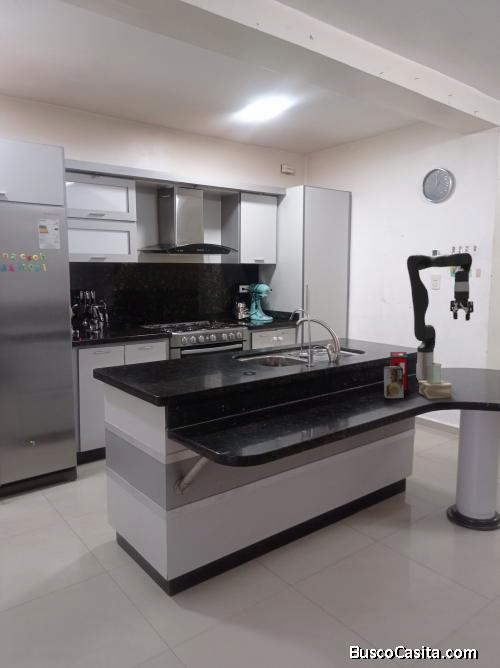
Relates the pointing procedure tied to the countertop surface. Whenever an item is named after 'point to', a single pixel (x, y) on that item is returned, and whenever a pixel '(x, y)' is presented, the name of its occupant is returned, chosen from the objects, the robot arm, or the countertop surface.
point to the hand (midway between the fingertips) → (461, 319)
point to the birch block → (435, 389)
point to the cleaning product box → (402, 361)
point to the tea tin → (433, 373)
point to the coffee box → (393, 382)
